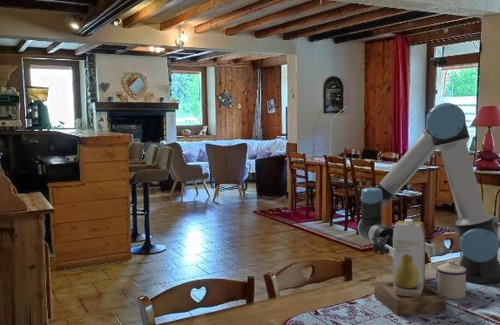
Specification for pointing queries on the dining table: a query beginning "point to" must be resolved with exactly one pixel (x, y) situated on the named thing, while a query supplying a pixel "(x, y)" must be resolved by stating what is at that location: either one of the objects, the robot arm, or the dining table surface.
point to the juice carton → (409, 258)
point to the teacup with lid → (451, 280)
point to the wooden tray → (411, 300)
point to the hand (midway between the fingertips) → (414, 252)
